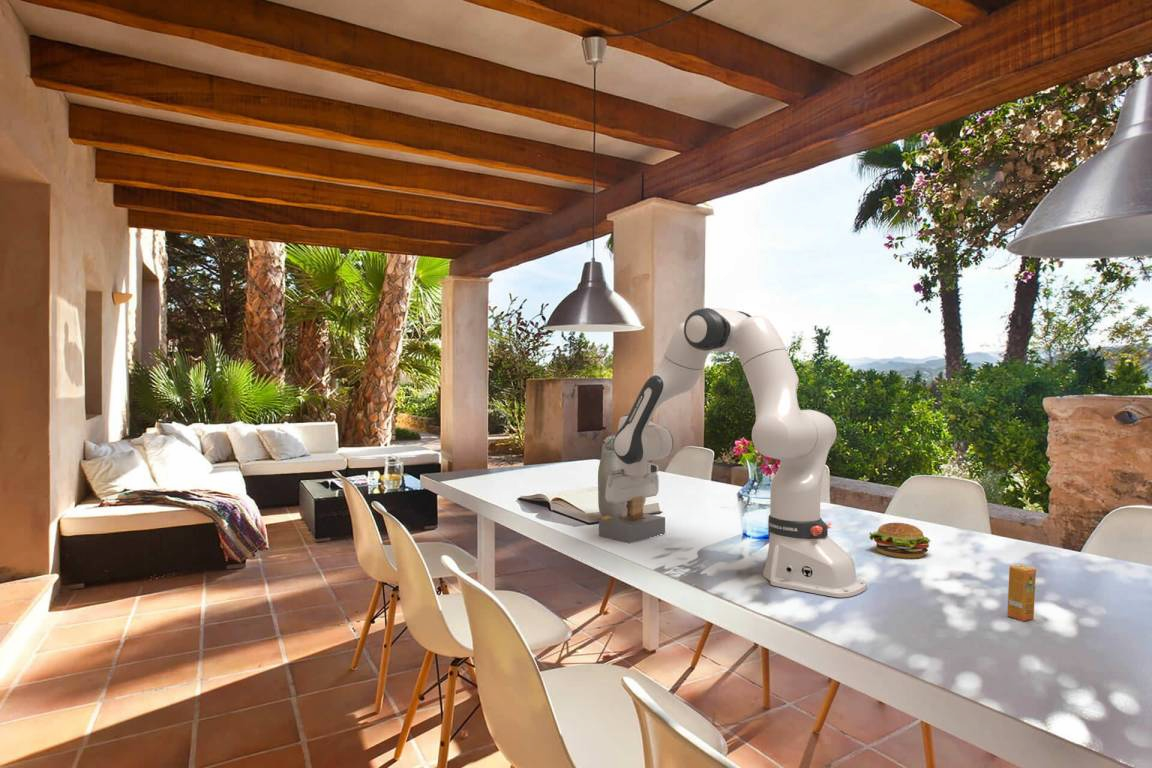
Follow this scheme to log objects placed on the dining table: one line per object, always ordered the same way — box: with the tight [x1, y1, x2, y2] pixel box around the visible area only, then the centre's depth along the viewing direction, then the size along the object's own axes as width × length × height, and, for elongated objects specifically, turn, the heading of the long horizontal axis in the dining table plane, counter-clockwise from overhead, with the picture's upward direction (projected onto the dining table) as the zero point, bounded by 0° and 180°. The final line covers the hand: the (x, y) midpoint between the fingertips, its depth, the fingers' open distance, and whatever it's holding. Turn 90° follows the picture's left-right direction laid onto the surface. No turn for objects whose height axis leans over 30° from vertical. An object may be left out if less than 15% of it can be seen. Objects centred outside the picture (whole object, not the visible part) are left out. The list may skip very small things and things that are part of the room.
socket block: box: [598, 512, 666, 544], centre depth 195 cm, size 12×16×6 cm
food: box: [869, 522, 931, 559], centre depth 175 cm, size 14×14×8 cm
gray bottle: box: [597, 434, 622, 518], centre depth 214 cm, size 10×10×28 cm
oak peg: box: [622, 496, 644, 521], centre depth 195 cm, size 4×4×9 cm
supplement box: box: [1007, 563, 1037, 622], centre depth 127 cm, size 3×3×10 cm
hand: (632, 514), depth 195 cm, fingers closed on oak peg, 4 cm apart
